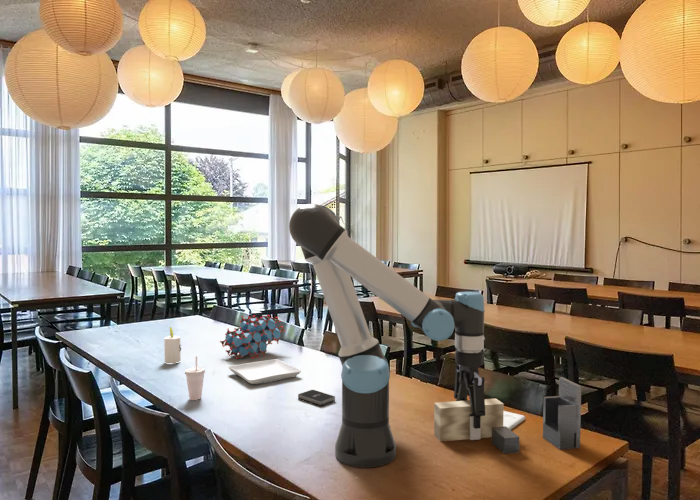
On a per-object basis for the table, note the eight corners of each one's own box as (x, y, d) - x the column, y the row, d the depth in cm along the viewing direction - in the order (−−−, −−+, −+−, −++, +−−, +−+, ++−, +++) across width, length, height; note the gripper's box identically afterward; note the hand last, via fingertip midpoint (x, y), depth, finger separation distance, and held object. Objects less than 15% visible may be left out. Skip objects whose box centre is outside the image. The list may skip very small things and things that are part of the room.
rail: (440, 441, 136) (440, 408, 136) (434, 435, 140) (434, 402, 140) (503, 436, 140) (503, 403, 139) (495, 430, 144) (495, 398, 143)
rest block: (504, 453, 129) (504, 438, 128) (491, 442, 135) (491, 427, 135) (519, 452, 129) (519, 436, 129) (505, 441, 136) (505, 426, 136)
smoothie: (209, 398, 170) (208, 356, 169) (191, 403, 165) (191, 360, 165) (199, 394, 174) (198, 353, 174) (181, 398, 170) (180, 356, 169)
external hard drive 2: (480, 426, 148) (498, 414, 157) (507, 434, 142) (525, 420, 152) (480, 421, 147) (498, 409, 157) (507, 428, 142) (525, 415, 152)
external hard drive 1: (312, 395, 175) (312, 389, 175) (336, 402, 167) (336, 396, 167) (297, 400, 170) (297, 394, 170) (320, 408, 162) (320, 402, 162)
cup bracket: (559, 449, 131) (561, 387, 130) (542, 437, 139) (543, 378, 138) (580, 447, 132) (581, 386, 131) (562, 435, 140) (563, 377, 139)
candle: (178, 364, 212) (177, 328, 211) (162, 364, 212) (161, 328, 212) (183, 360, 218) (182, 325, 218) (168, 360, 219) (167, 325, 218)
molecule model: (231, 343, 212) (274, 305, 226) (214, 337, 222) (256, 302, 236) (249, 372, 218) (290, 334, 232) (232, 366, 229) (271, 329, 243)
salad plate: (302, 378, 193) (302, 369, 193) (249, 389, 181) (249, 379, 181) (277, 366, 211) (276, 358, 210) (227, 374, 198) (227, 366, 198)
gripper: (500, 358, 130) (499, 447, 131) (466, 340, 150) (466, 418, 151) (472, 359, 128) (471, 450, 129) (442, 341, 148) (441, 420, 149)
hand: (468, 432), depth 140 cm, fingers open, 8 cm apart
